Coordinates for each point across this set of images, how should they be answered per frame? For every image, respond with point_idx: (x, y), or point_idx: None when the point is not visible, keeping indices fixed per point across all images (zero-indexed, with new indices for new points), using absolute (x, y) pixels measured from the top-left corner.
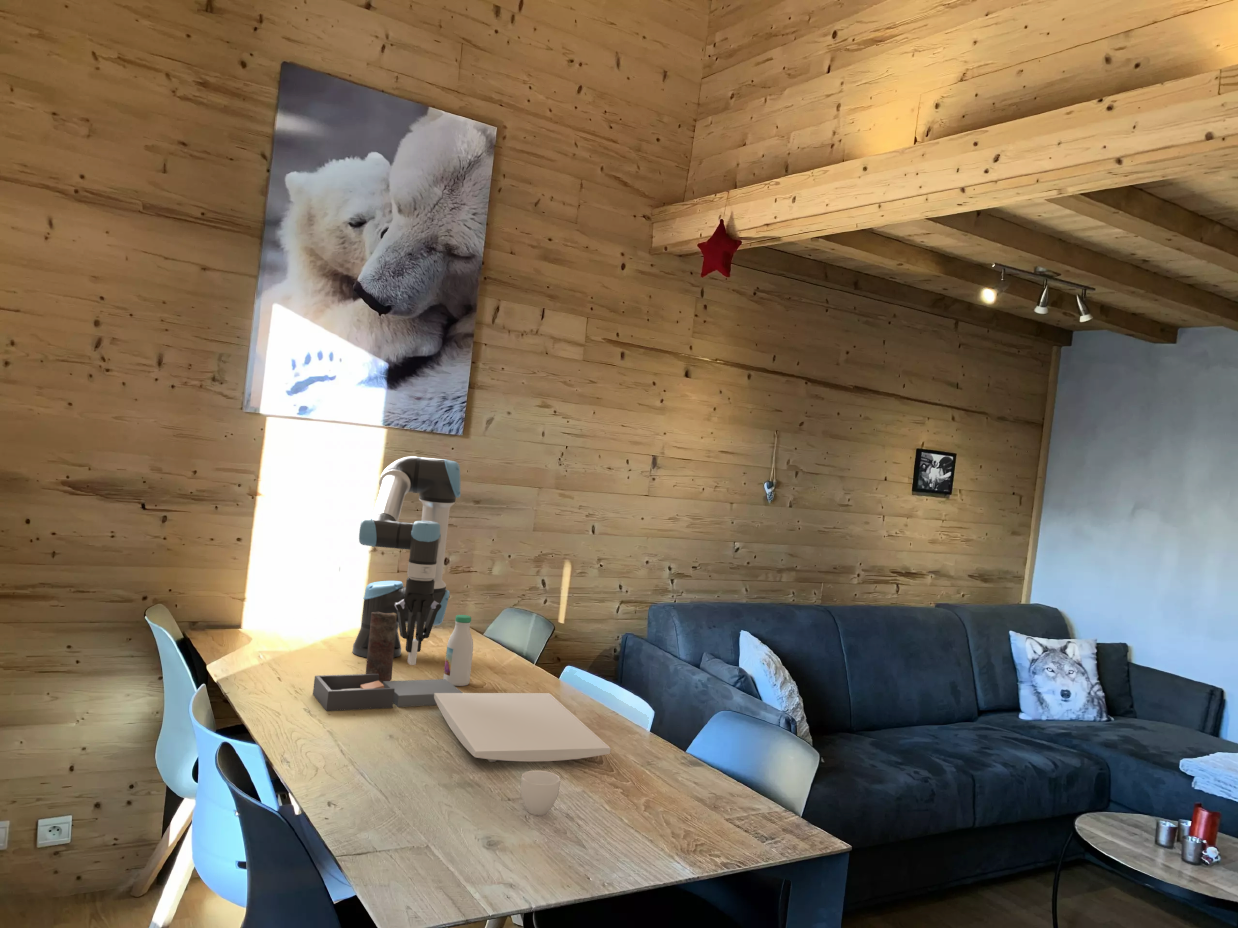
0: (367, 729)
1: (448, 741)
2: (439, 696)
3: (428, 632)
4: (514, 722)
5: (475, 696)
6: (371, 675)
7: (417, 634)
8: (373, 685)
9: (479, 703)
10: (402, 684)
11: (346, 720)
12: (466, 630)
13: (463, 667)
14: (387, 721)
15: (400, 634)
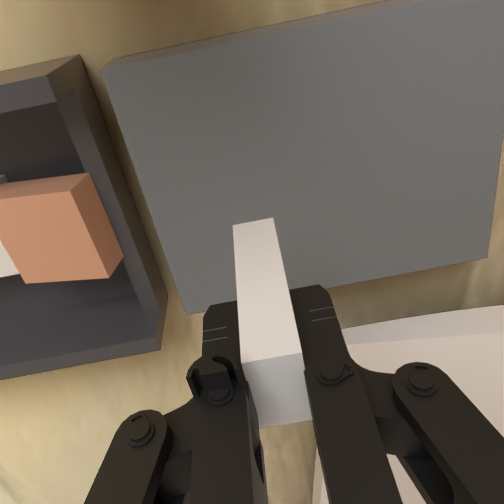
0: (96, 459)
1: (295, 500)
2: None
3: (448, 484)
4: None
5: (486, 368)
6: (7, 111)
7: (328, 410)
8: (54, 247)
9: None
10: (217, 138)
11: (21, 410)
12: None
13: None
14: (150, 409)
15: (118, 449)
